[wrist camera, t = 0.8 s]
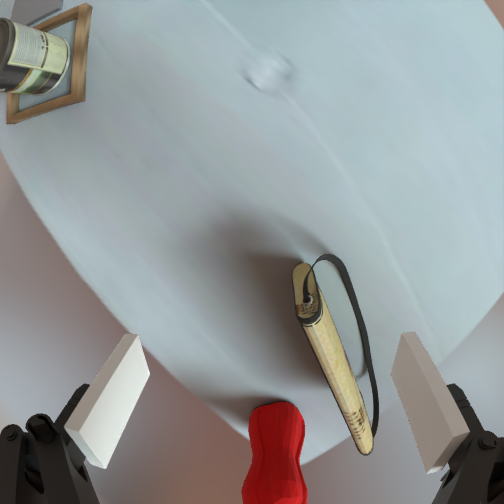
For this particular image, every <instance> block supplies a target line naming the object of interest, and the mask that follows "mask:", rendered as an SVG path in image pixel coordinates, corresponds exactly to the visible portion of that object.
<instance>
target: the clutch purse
mask: <svg viewBox="0 0 504 504" xmlns="http://www.w3.org/2000/svg"><path fill="white" fill-rule="evenodd" d="M321 260H328V261H331V262H332V263H334V264H335V265H336V266H337V267H338V269H339V270H340V272H341V275H342V277H343V280H344V283H345V285H346V288H347V291H348V294H349V297H350V300H351V303H352V306H353V309H354V312H355V315H356V318H357V321H358V324H359V327H360V331H361V335H362V339H363V344H364V350H365V356H366V362H367V367H368V372H369V377H370V382H371V386H372V393H373V405H374V412H373V423H372V428H371V426H370V422H369V418H368V415H367V411H366V408H365V404H364V401H363V397H362V394H361V392H360V390H359V388H358V385H357V383H356V380H355V377H354V374H353V372H352V369H351V366H350V364H349V361H348V358H347V356H346V353H345V350H344V348H343V345H342V343H341V340H340V337H339V335H338V332H337V330H336V327H335V325H334V322H333V320H332V317H331V315H330V312H329V310H328V307H327V305H326V302H325V300H324V297H323V295H322V292H321V290H320V288H319V286H318V284H317V281H316V277H315V274H314V270H313V267H314V265H315V264H316V263H317V262H318V261H321ZM292 284H293V291H294V300H295V310H296V316H297V319H298V321H299V323H300V324H301V327H302V329H303V331H304V333H305V335H306V337H307V339H308V342H309V344H310V346H311V348H312V350H313V352H314V354H315V357H316V359H317V361H318V363H319V365H320V367H321V370H322V372H323V374H324V376H325V378H326V380H327V383H328V385H329V387H330V389H331V391H332V393H333V396H334V398H335V400H336V402H337V404H338V407H339V409H340V411H341V413H342V415H343V418H344V420H345V422H346V424H347V426H348V429H349V431H350V433H351V435H352V437H353V439H354V442H355V445H356V447H357V449H358V451H359V452H360V453H361V454H363V455H369V454H370V453H371V452H372V450H373V438H374V436H375V434H376V431H377V427H378V419H379V400H378V391H377V385H376V380H375V375H374V370H373V365H372V360H371V353H370V347H369V341H368V335H367V331H366V327H365V323H364V320H363V317H362V314H361V311H360V308H359V305H358V301H357V298H356V295H355V292H354V289H353V286H352V283H351V280H350V277H349V275H348V272H347V269H346V267H345V265H344V263H343V262H342V261H341V260H340V259H339V258H338V257H336V256H335V255H332V254H325V255H322V256H320V257H319V258H318V259H317V260H316V262H315V263H314V264H313V266H312V267H311V266H310V264H307V263H301V264H299V265H297V266H296V267H295V269H294V270H293V273H292Z"/></svg>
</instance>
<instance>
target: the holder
mask: <svg viewBox="0 0 504 504" xmlns="http://www.w3.org/2000/svg"><path fill="white" fill-rule="evenodd" d="M91 13H92V6H90V5H89V4H87V3H84V4H82V5H79V6H77V7H75V8H72V9H70V10H68V11H65V12H63V13H61V14H59V15H57V16H54V17H52V18H50V19H48V20H46V21H44V22H42V23H40V24H38V25H36V26H34V27H33V28H35V29H38V30H41V31H43V32H47V31H49V30H51V29H53V28H56V27H58V26H60V25H62V24H65V23H67V22H69V21H72V20H74V19H77V25H76V33H75V42H74V52H73V65H72V83H71V94H69V95H65V96H62V97H59V98H56V99H53V100H50V101H48V102H45V103H42V104H39V105H37V106H34V107H31V108H29V109H26V110H24V111H21V112H19V93H8V94H7V124H16V123H18V122H21V121H23V120H26V119H29V118H32V117H34V116H37V115H40V114H43V113H46V112H49V111H52V110H55V109H58V108H62V107H65V106H68V105H72V104H75V103H79V102H83V101H85V83H86V62H87V49H88V38H89V29H90V20H91Z"/></svg>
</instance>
